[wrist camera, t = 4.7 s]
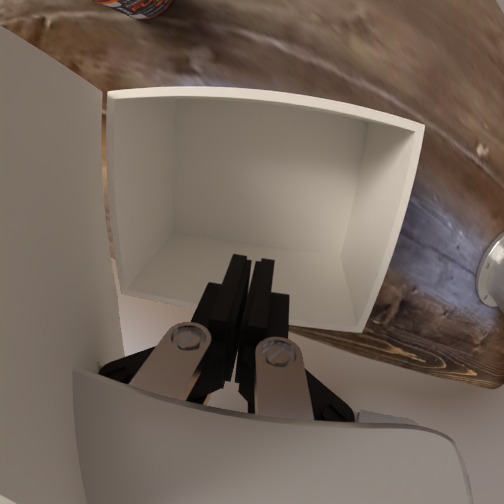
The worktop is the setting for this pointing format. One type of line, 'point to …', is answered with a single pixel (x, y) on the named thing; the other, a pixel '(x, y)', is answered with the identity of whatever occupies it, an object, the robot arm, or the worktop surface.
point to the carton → (257, 195)
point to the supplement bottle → (138, 7)
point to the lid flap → (49, 270)
